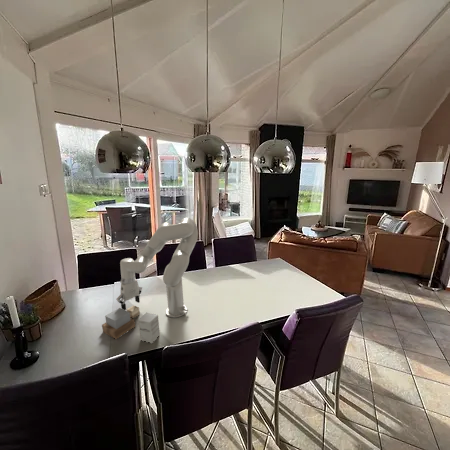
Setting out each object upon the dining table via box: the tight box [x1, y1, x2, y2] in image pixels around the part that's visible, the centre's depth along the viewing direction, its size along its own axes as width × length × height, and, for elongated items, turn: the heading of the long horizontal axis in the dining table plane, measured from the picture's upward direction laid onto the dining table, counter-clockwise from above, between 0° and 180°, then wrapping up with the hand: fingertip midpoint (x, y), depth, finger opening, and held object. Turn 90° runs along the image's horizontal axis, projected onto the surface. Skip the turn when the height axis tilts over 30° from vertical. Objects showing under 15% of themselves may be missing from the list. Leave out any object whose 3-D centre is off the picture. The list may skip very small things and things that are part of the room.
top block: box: [104, 307, 132, 329], centre depth 142 cm, size 9×9×5 cm
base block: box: [101, 318, 136, 340], centre depth 143 cm, size 12×12×5 cm
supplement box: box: [137, 312, 161, 344], centre depth 134 cm, size 7×7×13 cm
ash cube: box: [126, 304, 140, 319], centre depth 156 cm, size 5×5×5 cm
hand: (130, 305), depth 154 cm, fingers open, 9 cm apart
